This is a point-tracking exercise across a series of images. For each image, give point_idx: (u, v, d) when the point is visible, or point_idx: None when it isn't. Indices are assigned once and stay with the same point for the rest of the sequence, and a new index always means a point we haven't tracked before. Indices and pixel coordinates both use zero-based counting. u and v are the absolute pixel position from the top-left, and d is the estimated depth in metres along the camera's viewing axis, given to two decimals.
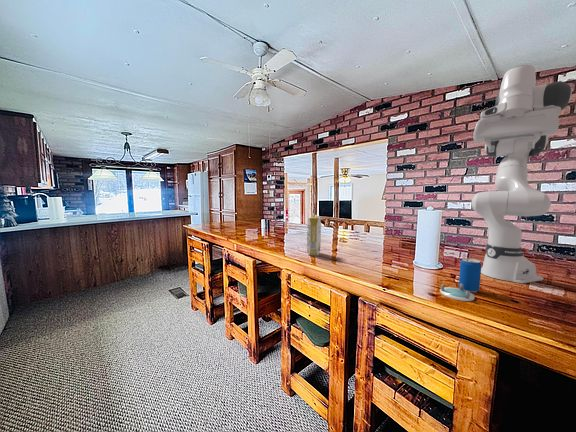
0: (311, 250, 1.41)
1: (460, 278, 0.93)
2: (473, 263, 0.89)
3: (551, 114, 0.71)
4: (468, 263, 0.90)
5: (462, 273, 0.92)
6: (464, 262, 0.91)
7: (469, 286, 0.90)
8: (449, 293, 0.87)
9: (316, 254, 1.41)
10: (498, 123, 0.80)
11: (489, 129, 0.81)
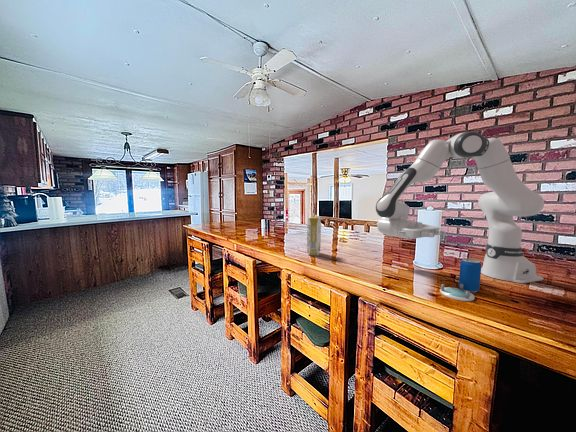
0: (311, 250, 1.41)
1: (460, 278, 0.93)
2: (473, 263, 0.89)
3: (406, 236, 1.05)
4: (468, 263, 0.90)
5: (462, 273, 0.92)
6: (464, 262, 0.91)
7: (469, 286, 0.90)
8: (449, 293, 0.87)
9: (316, 254, 1.41)
10: None
11: None
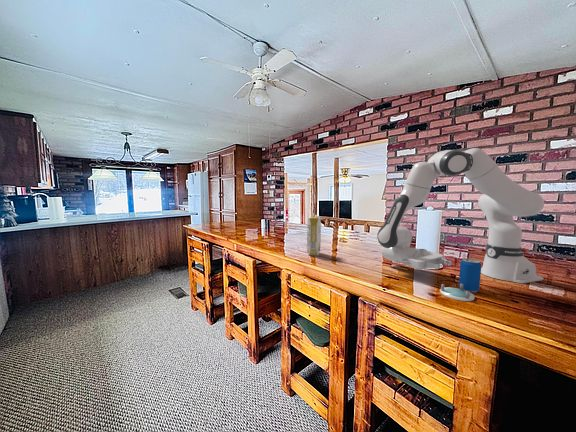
0: (311, 250, 1.41)
1: (460, 278, 0.93)
2: (473, 263, 0.89)
3: None
4: (468, 263, 0.90)
5: (462, 273, 0.92)
6: (464, 262, 0.91)
7: (469, 286, 0.90)
8: (449, 293, 0.87)
9: (316, 254, 1.41)
10: None
11: None
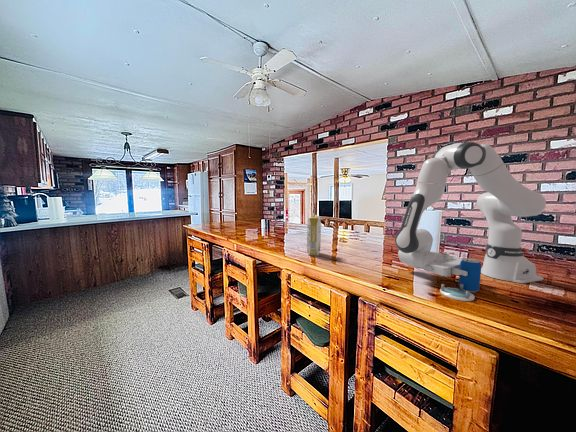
0: (311, 250, 1.41)
1: (460, 278, 0.93)
2: (473, 263, 0.89)
3: None
4: (468, 263, 0.90)
5: None
6: (464, 262, 0.91)
7: (469, 286, 0.90)
8: (449, 293, 0.87)
9: (316, 254, 1.41)
10: None
11: None
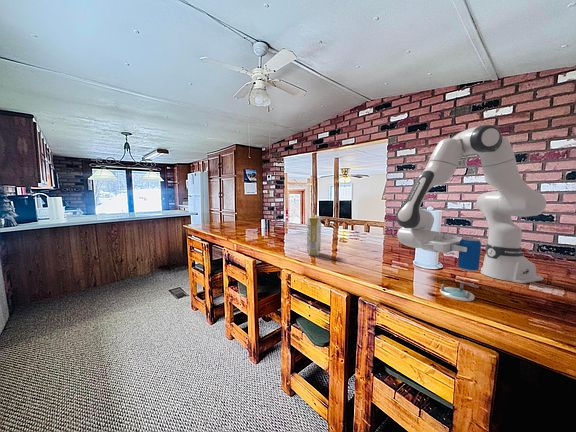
0: (311, 250, 1.41)
1: (459, 257, 0.91)
2: (472, 241, 0.88)
3: None
4: (467, 241, 0.88)
5: (461, 252, 0.90)
6: (463, 241, 0.90)
7: (469, 265, 0.88)
8: (449, 293, 0.87)
9: (316, 254, 1.41)
10: None
11: None
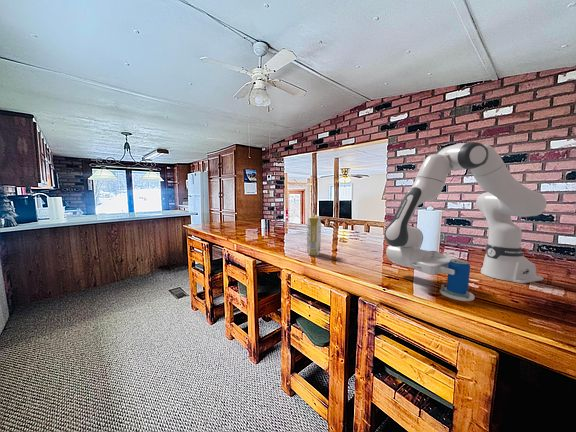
0: (311, 250, 1.41)
1: (448, 280, 0.88)
2: (461, 264, 0.84)
3: None
4: (456, 264, 0.85)
5: (449, 275, 0.87)
6: (452, 263, 0.86)
7: (457, 289, 0.85)
8: (449, 293, 0.87)
9: (316, 254, 1.41)
10: None
11: None
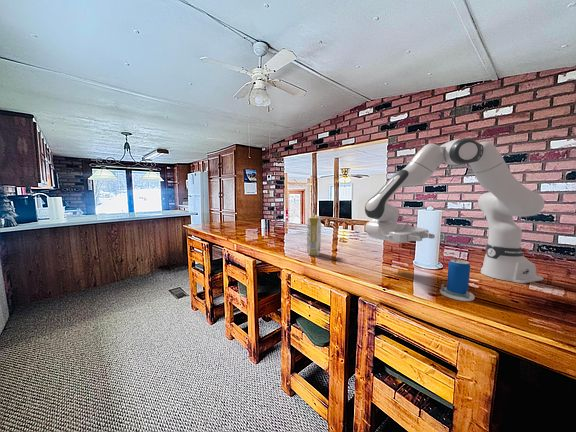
0: (311, 250, 1.41)
1: (448, 280, 0.88)
2: (461, 264, 0.84)
3: None
4: (456, 264, 0.85)
5: (449, 275, 0.87)
6: (452, 263, 0.86)
7: (457, 289, 0.85)
8: (449, 293, 0.87)
9: (316, 254, 1.41)
10: None
11: None
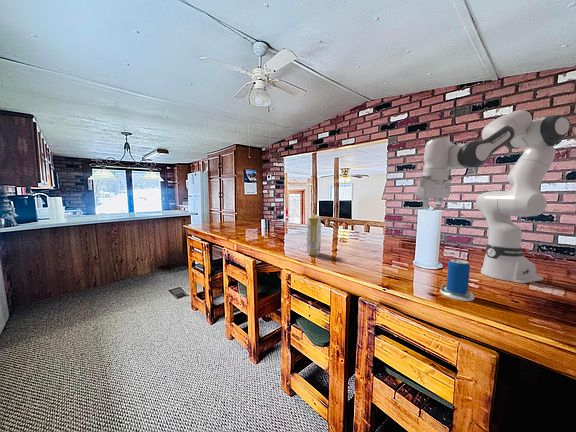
0: (311, 250, 1.41)
1: (448, 280, 0.88)
2: (461, 264, 0.84)
3: None
4: (455, 264, 0.85)
5: (449, 275, 0.87)
6: (451, 263, 0.86)
7: (457, 289, 0.85)
8: (449, 293, 0.87)
9: (316, 254, 1.41)
10: None
11: None
